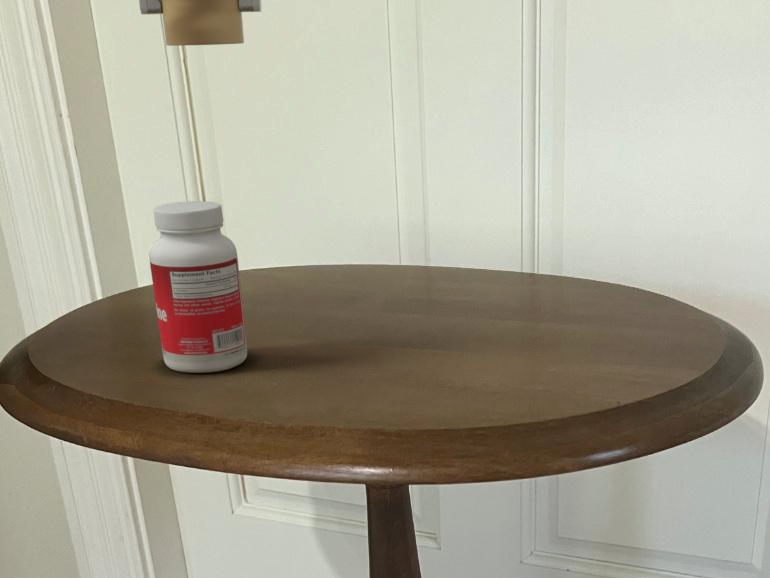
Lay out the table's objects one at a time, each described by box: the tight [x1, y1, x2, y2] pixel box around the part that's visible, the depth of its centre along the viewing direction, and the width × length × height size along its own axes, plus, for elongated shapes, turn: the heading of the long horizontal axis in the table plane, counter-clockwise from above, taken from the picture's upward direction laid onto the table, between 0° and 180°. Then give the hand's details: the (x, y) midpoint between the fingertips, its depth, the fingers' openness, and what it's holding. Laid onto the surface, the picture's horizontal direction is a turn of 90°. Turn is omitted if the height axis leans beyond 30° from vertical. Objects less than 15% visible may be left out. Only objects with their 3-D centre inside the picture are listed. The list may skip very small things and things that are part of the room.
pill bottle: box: [148, 200, 248, 374], centre depth 78 cm, size 6×6×11 cm
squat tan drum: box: [161, 0, 245, 47], centre depth 76 cm, size 6×6×3 cm
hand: (202, 13), depth 76 cm, fingers closed on squat tan drum, 5 cm apart
